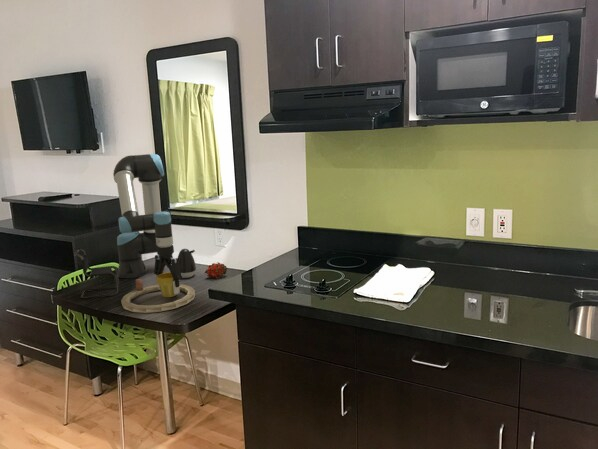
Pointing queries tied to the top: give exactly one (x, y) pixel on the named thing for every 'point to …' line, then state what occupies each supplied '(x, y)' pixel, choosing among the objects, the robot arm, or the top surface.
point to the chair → (97, 274)
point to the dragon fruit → (216, 270)
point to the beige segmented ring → (155, 308)
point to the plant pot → (166, 284)
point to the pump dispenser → (186, 263)
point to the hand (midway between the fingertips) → (169, 291)
